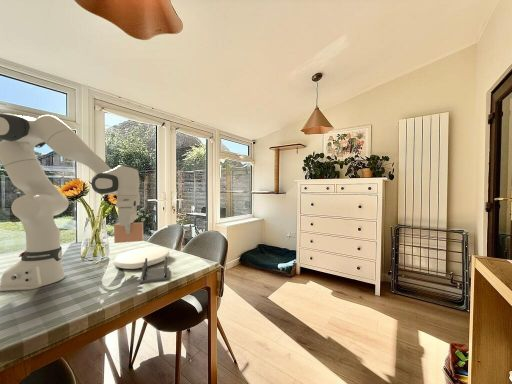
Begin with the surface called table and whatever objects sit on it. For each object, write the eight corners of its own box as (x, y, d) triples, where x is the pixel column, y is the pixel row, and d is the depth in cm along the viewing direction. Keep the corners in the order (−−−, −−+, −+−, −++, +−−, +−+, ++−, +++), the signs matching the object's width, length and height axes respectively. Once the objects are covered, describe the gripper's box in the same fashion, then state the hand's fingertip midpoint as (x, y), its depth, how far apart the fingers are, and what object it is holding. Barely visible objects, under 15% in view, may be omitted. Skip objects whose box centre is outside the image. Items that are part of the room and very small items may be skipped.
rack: (139, 283, 99) (139, 267, 99) (143, 272, 112) (143, 258, 111) (168, 279, 104) (168, 264, 103) (169, 269, 116) (169, 255, 116)
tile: (114, 243, 99) (114, 224, 99) (116, 241, 102) (115, 223, 101) (142, 241, 103) (142, 223, 102) (143, 239, 105) (143, 222, 105)
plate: (131, 265, 108) (103, 256, 122) (133, 278, 109) (104, 268, 123) (178, 246, 132) (150, 240, 146) (179, 257, 133) (151, 250, 146)
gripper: (125, 200, 110) (125, 228, 111) (114, 203, 91) (115, 238, 91) (139, 200, 112) (140, 227, 113) (132, 203, 93) (133, 236, 94)
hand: (129, 232), depth 102 cm, fingers closed on tile, 3 cm apart
